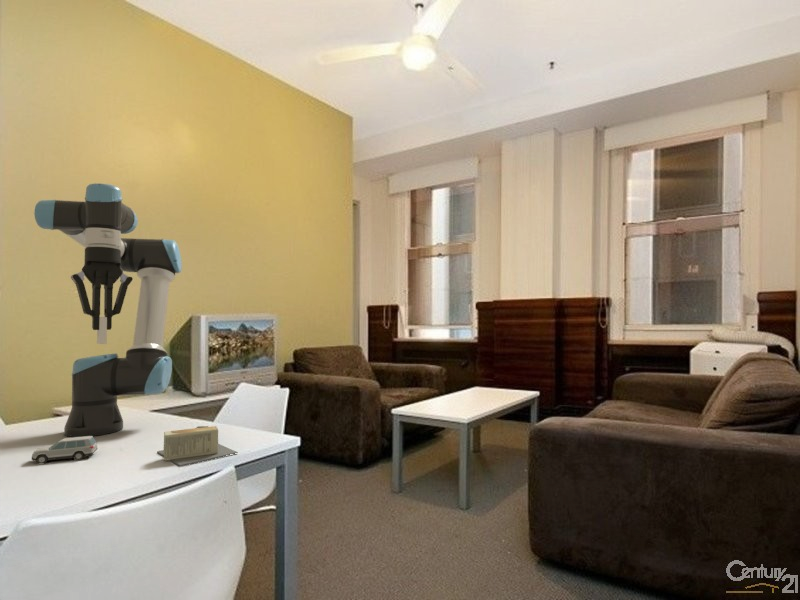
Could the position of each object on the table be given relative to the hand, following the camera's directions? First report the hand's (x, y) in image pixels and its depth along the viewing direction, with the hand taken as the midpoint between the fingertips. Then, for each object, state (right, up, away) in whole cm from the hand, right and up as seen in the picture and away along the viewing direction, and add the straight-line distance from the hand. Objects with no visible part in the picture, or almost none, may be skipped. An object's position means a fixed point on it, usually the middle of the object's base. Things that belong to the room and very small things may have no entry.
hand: (101, 343), depth 114 cm
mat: (+21, -28, +4) cm, 36 cm away
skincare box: (+16, -25, -1) cm, 29 cm away
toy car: (-10, -29, +1) cm, 31 cm away
